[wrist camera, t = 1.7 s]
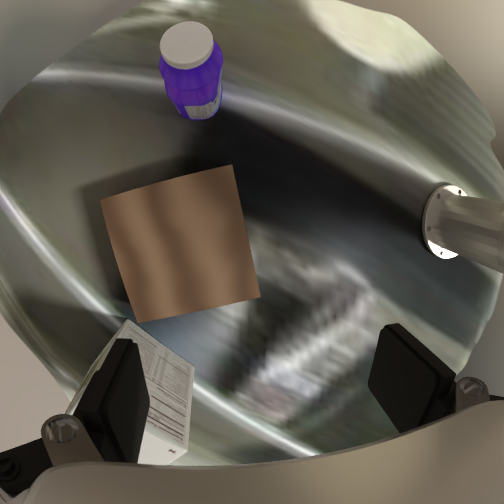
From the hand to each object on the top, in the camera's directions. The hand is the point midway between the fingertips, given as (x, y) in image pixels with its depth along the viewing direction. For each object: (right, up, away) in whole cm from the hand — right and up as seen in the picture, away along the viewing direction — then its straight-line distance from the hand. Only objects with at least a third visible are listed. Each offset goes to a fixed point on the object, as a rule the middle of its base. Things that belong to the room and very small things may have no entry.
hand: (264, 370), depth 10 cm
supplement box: (-18, -14, +32) cm, 40 cm away
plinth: (-9, +6, +28) cm, 30 cm away
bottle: (-7, +24, +24) cm, 35 cm away
